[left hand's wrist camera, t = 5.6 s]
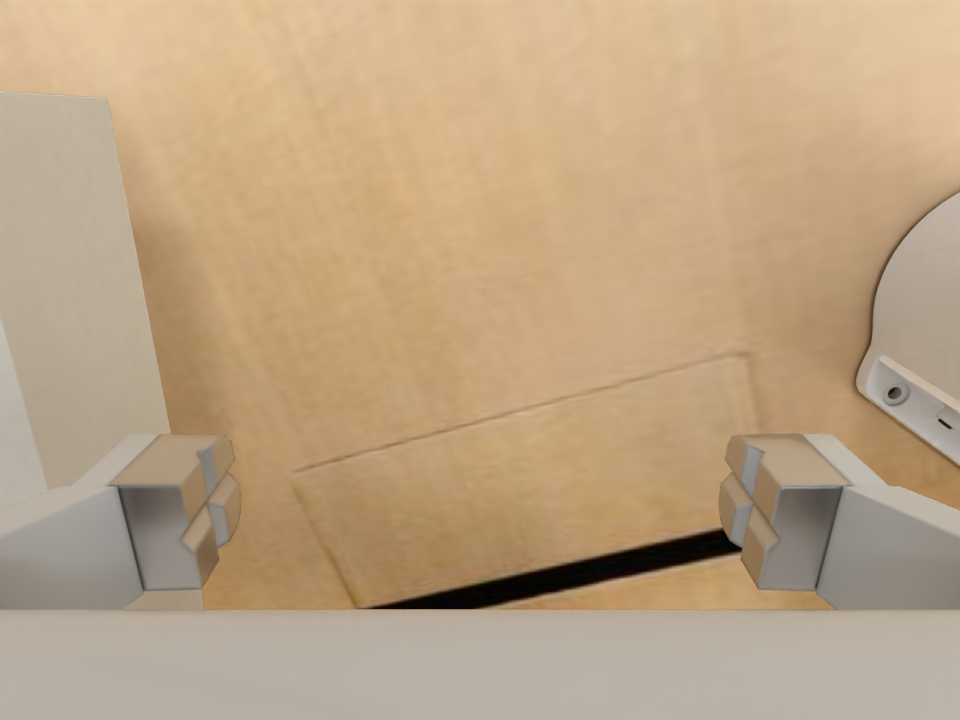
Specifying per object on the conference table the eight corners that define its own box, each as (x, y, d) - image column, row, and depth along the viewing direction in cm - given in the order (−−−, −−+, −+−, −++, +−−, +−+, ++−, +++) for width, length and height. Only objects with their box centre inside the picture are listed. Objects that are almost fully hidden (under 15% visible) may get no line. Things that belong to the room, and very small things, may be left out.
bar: (-27, 97, 25) (-259, 85, 17) (108, 97, 25) (-65, 86, 17) (115, 640, 35) (8, 787, 27) (211, 642, 35) (131, 790, 27)
